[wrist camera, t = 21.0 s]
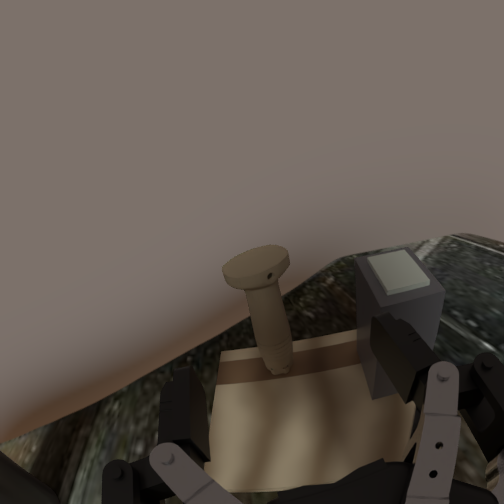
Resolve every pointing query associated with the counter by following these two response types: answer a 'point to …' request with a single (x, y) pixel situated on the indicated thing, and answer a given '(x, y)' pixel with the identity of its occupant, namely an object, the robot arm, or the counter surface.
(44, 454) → the counter surface
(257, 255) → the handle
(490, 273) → the counter surface
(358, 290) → the grey tall block
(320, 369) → the subfloor panel
